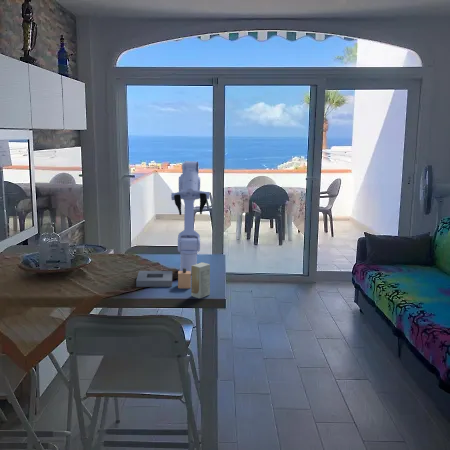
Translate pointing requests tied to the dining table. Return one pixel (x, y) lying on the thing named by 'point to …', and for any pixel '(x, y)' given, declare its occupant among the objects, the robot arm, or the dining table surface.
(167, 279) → the socket
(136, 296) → the dining table surface
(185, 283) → the plug
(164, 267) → the dining table surface
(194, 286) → the skincare box
